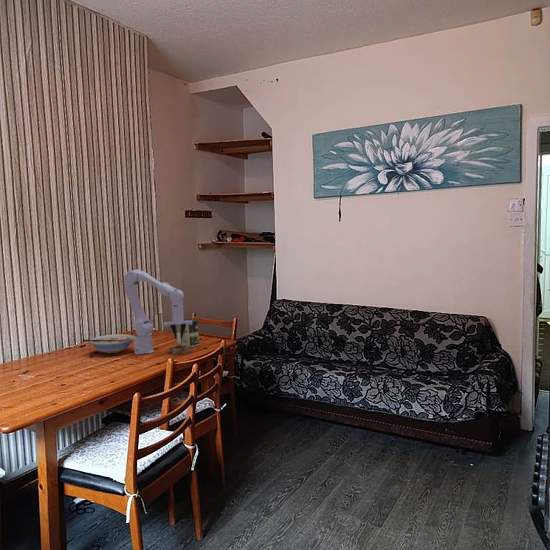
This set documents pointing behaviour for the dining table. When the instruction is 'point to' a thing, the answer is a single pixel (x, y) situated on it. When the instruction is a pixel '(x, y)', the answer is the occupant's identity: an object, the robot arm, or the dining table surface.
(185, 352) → the square wooden frame
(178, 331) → the white banded cylinder
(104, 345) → the ramen bowl
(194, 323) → the coffee can
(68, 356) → the dining table surface
